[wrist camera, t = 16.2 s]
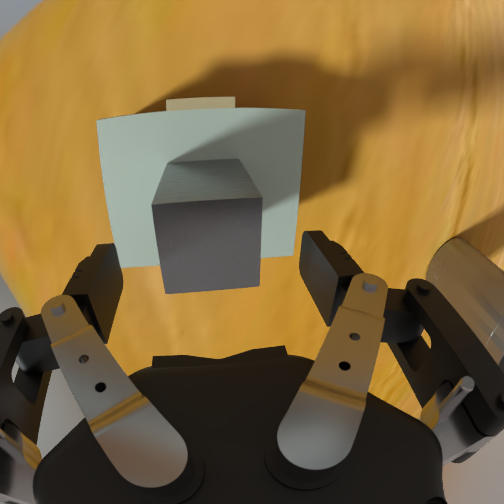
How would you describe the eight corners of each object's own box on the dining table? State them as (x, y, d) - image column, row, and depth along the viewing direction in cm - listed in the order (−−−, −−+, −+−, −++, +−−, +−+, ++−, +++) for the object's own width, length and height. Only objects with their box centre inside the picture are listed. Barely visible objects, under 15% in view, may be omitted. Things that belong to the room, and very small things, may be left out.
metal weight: (238, 158, 18) (262, 197, 12) (238, 222, 20) (259, 286, 14) (167, 162, 17) (151, 204, 11) (173, 227, 19) (165, 294, 13)
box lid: (298, 99, 17) (307, 100, 16) (287, 245, 23) (293, 256, 22) (102, 108, 15) (95, 109, 14) (123, 257, 21) (119, 269, 20)
